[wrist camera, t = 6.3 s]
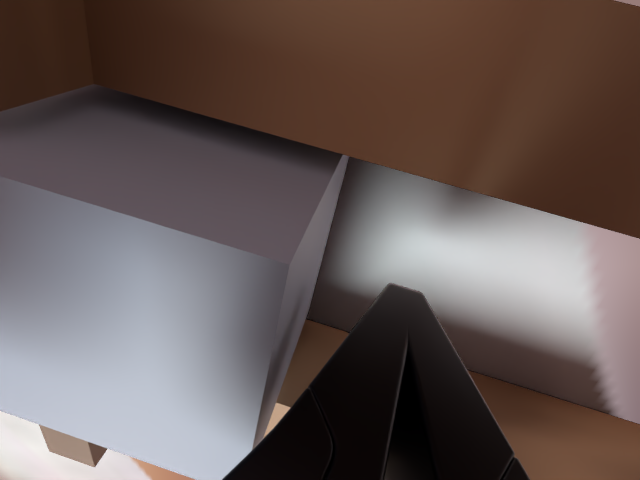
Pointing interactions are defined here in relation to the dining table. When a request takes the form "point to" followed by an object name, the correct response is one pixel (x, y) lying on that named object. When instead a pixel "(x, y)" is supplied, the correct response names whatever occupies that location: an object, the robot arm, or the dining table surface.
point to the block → (154, 273)
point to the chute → (388, 129)
